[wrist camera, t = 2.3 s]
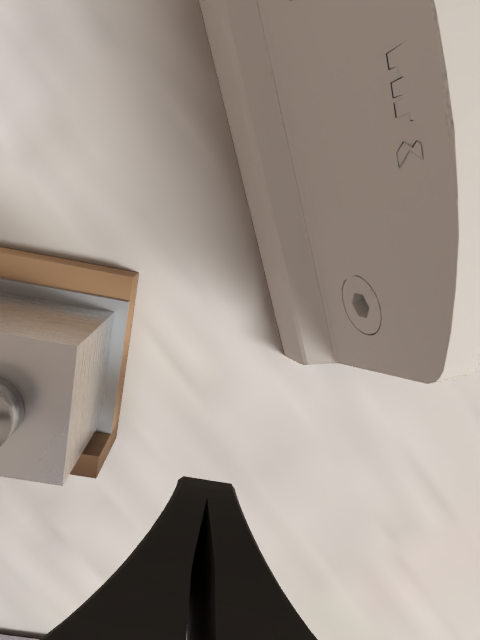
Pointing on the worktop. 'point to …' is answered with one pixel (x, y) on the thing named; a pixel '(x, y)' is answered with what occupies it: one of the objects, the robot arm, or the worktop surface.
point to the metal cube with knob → (49, 384)
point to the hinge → (361, 174)
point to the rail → (91, 291)
